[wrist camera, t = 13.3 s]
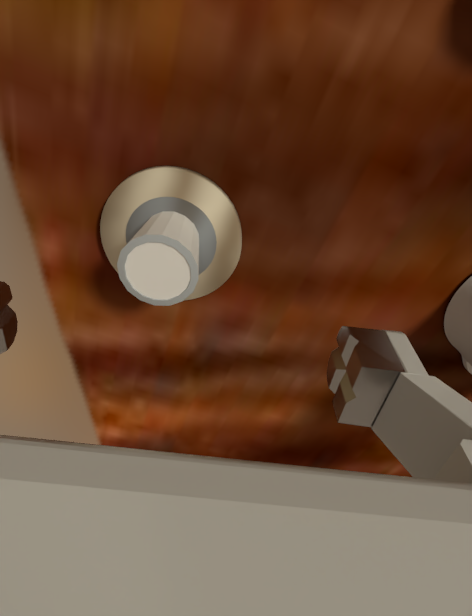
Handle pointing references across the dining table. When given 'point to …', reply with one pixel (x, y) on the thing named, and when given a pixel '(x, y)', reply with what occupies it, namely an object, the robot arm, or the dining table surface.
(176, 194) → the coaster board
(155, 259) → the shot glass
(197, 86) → the dining table surface
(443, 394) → the robot arm
